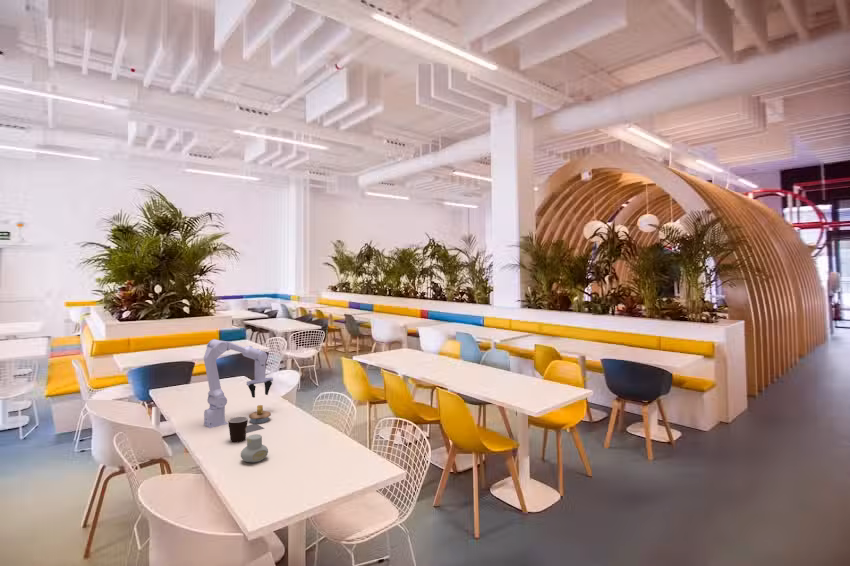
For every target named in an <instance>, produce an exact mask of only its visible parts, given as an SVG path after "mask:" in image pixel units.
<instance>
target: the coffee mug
mask: <svg viewBox="0 0 850 566" xmlns="http://www.w3.org/2000/svg"><path fill="white" fill-rule="evenodd" d="M248 421H249V417H247V416H236V417H235V416H234V417H231V418H230V419H228V421H227V423H228V429H229V430H228V431H229V436H230V442H231V443H242V442H244V441H245V440H247V438H246V437H247V433H246V431H247V426H248Z"/></svg>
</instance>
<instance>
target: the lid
mask: <svg viewBox="0 0 850 566" xmlns="http://www.w3.org/2000/svg"><path fill="white" fill-rule="evenodd" d="M263 408H264V406H263V405H261V404H260V405H259V404H258V405H257V406H256V411H253V412H251V413H249V414H248V419H250V418H251V419H263V418H267V417H270V416H272V414H271V412H270V411H267V410H263Z"/></svg>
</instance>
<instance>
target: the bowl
mask: <svg viewBox="0 0 850 566" xmlns="http://www.w3.org/2000/svg"><path fill="white" fill-rule="evenodd" d="M269 417H270V416H269ZM269 417H267V418H263V419H251V418H249V421H250V423H252V424H263V423H267V422H268V421H269V419H270V418H269Z"/></svg>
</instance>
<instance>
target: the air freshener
mask: <svg viewBox="0 0 850 566" xmlns="http://www.w3.org/2000/svg"><path fill="white" fill-rule="evenodd" d="M246 437H247V438H246V446H245V447H244V448H243V449H242V450H241V451H240V458H241V460H243V461H244V462H246V463H251V464H252V463H254V464H255V463H259V462H261V461H262V460H264V459H265V458H266V457H267V456H268V453H269V449H268V447H267V446H266V445H265V444H263V436H262V435H261V434H255V433H254V434H251V435H249V436H246Z"/></svg>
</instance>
